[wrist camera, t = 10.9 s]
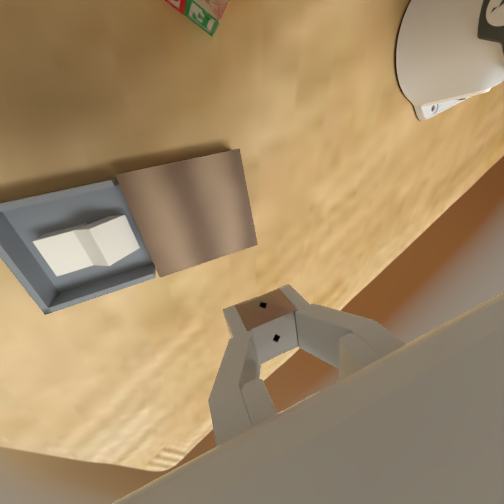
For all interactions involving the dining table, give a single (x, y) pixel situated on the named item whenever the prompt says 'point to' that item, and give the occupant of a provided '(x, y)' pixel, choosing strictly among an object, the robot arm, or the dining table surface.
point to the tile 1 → (63, 251)
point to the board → (191, 209)
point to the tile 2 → (107, 240)
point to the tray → (61, 217)
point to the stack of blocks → (202, 12)
